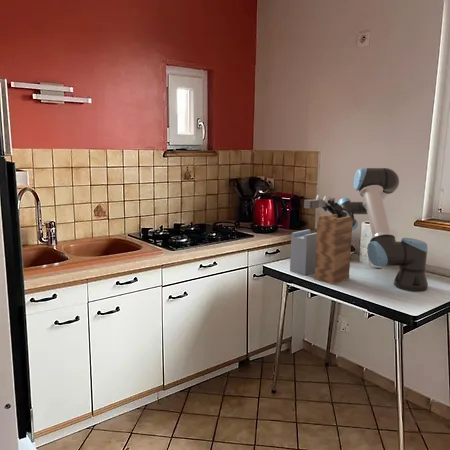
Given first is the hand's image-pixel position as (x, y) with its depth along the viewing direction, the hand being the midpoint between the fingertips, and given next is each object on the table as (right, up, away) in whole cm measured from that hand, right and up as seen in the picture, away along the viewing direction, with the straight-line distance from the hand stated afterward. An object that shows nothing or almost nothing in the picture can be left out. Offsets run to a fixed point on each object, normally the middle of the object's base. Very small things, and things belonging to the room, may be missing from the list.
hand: (320, 197), depth 246 cm
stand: (+2, -42, -15) cm, 45 cm away
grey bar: (0, -5, +1) cm, 5 cm away
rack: (-8, -39, -1) cm, 40 cm away
